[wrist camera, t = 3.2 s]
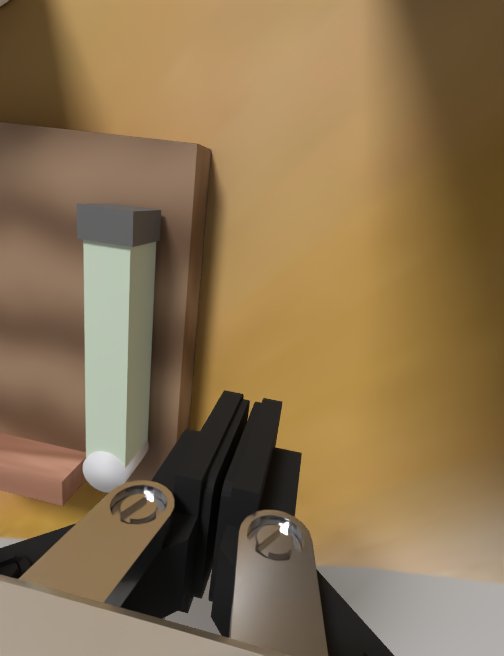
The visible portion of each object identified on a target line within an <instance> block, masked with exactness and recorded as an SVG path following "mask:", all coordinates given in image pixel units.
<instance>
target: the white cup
mask: <svg viewBox="0 0 504 656" xmlns="http://www.w3.org/2000/svg"><path fill="white" fill-rule="evenodd" d="M8 1H10V0H0V6H2V5H3V4H5V3H7V2H8Z"/></svg>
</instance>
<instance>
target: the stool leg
mask: <svg viewBox="0 0 504 656" xmlns="http://www.w3.org/2000/svg"><path fill="white" fill-rule="evenodd" d="M160 227H161V210H158V209H150V208H143V207H136V206H128V205H121V204H114V203H84V204H77V239H82V240H83V248H84V331H85V414H86V459H85V461H84V463H83V474H84V476H85V478H86V480H87V481H88V483H89V484H90V485H91V486H93V487H94V488H95V489H97V490H99V491H102V492H107V493H109V492H110V491H112V490H113V489H115V488H116V487H117V486H120V485H122V484H124V483H125V482H126V481H127V479H128V478H129V477H130V475H131V474H132V473H133V471H134V470H135V469H136V467H137V466H138V464H139V463H140V462H141V460H142V459H143V458H144V456H145V455H146V453H147V452H148V449H149V443H148V420H149V397H150V374H151V351H152V328H153V305H154V282H155V259H156V242H157V241H160Z"/></svg>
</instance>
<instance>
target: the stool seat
mask: <svg viewBox="0 0 504 656" xmlns="http://www.w3.org/2000/svg"><path fill="white" fill-rule="evenodd" d="M210 157H211V149H208V148H206V147H204V146H201V145H199V144H195V143H186V142H177V141H168V140H159V139H150V138H141V137H132V136H123V135H114V134H105V133H96V132H87V131H78V130H69V129H60V128H51V127H42V126H33V125H24V124H15V123H6V122H0V490H1V491H5V492H9V493H13V494H17V495H21V496H25V497H29V498H33V499H37V500H41V501H45V502H49V503H53V504H57V505H61V506H63V505H64V504H65V503H66V502H67V501H68V499H69V498H70V497H71V496H72V495H73V494H74V493H75V491H76V490H77V489H78V488H79V487H80V486H81V485H82V484H83V482H84V481H85V480H86V478H85V476H84V474H83V463H84V461H85V459H86V414H85V331H84V248H83V240H82V239H77V204H84V203H114V204H121V205H128V206H136V207H143V208H150V209H158V210H161V227H160V241H157V242H156V259H155V282H154V305H153V328H152V351H151V374H150V397H149V420H148V443H149V449H148V452H147V453H146V455H145V456H144V458H143V459H142V460H141V462H140V463H139V464H138V466H137V467H136V469H135V470H134V471H133V473H132V474H131V475H130V477H129V478H128V479H127V481H126V482H125V483H127V482H132V481H137V480H144V481H151V480H152V479H153V477H154V476H155V474H156V473H157V471H158V470H159V468H160V467H161V465H162V464H163V462H164V461H165V459H166V457H167V456H168V454H169V453H170V451H171V450H172V448H173V447H174V445H175V444H176V442H177V441H178V439H179V438H180V436H181V435H182V433H183V432H184V431H185V430H186V429H189V420H190V407H191V395H192V382H193V370H194V357H195V345H196V332H197V320H198V307H199V295H200V282H201V270H202V257H203V245H204V232H205V220H206V207H207V195H208V182H209V170H210ZM125 483H124V484H125Z"/></svg>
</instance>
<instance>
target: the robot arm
mask: <svg viewBox="0 0 504 656" xmlns="http://www.w3.org/2000/svg"><path fill="white" fill-rule="evenodd" d="M243 397H244V396H243V394H240V393H235V392H230V391H225V390H224V392H223V393H222V395H221V397H220V398H219V400H218V402H217V404H216V405H215V407H214V409H213V410H212V412H211V414H210V416H209V417H208V419H207V421H206V422H205V424H204V426H203V428H202V429H201V431H200V432H199V431H195V430H190V429H186V430H185V431H184V432H183V433H182V435H181V436H180V438H179V439H178V441H177V442H176V444H175V445H174V447H173V448H172V450H171V451H170V453H169V454H168V456H167V457H166V459H165V461H164V462H163V464H162V465H161V467H160V468H159V470H158V471H157V473H156V474H155V476H154V477H153V479H152V480H151V481H144V480H137V481H132V482H127V483H125V484H122V485H120V486H117V487H116V488H115V489H113V490H112V491H110V492H109V493H108V494H107V495H106V496H105V497H104V498H103V499H102V500H101V501H100V502H99V503H98V504H97V505H95V506H94V507H93V508H92V509H91V510H90V511H89V512H88V513H87V514H86V515H85V516H84V517H83V518H82V519H81V520H80V521H79V522H78V523H76V524H73V525H70V526H67V527H64V528H61V529H58V530H55V531H52V532H49V533H46V534H43V535H40V536H36V537H33V538H30V539H27V540H24V541H21V542H18V543H15V544H12V545H9V546H6V547H3V548H0V656H394V655H393V654H392V653H391V652H390V650H389V649H388V648H387V647H386V646H385V645H384V644H383V643H382V642H381V640H380V639H379V638H378V637H377V636H376V635H375V634H374V633H373V632H372V630H371V629H370V628H369V627H368V626H367V625H366V624H365V623H364V622H363V620H362V619H361V618H360V617H359V616H358V615H357V614H356V613H355V612H354V611H353V610H352V608H351V607H350V606H349V605H348V604H347V603H346V602H345V601H344V599H343V598H342V597H341V596H340V595H339V594H338V593H337V592H336V590H335V589H334V588H333V587H332V586H331V585H330V584H329V583H328V582H327V580H326V579H325V578H324V577H323V576H322V575H321V574H320V573H319V572H318V570H317V569H316V564H315V557H314V550H313V543H312V539H311V536H310V533H309V531H308V529H307V528H306V527H305V525H304V524H303V523H302V522H301V521H299V520H298V519H297V518H296V517H295V508H296V499H297V490H298V481H299V472H300V464H301V453H299V452H294V451H289V450H285V449H280V448H275V445H276V439H277V433H278V427H279V421H280V414H281V408H282V402H281V401H276V400H271V399H266V398H263V400H262V403H260V402H255V403H254V406H253V408H252V411H251V413H250V416H249V418H248V412H249V404H250V401H249V400H244V399H243ZM247 419H248V421H247ZM211 570H212V574H211V582H210V590H209V601H212V602H213V604H212V612H211V618H212V619H213V621H214V623H215V625H216V626H217V628H218V630H219V632H220V633H221V635H222V636H220V635H217V634H213V633H209V632H206V631H203V630H199V629H196V628H192V627H188V626H185V625H181V624H178V623H174V622H171V621H167V620H165V617H166V616H168V615H170V614H172V613H174V612H176V611H181V612H185V613H188V611H189V608H190V606H191V603H192V600H193V597H197V598H202V596H203V593H204V591H205V588H206V585H207V581H208V579H209V576H210V573H211Z"/></svg>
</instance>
